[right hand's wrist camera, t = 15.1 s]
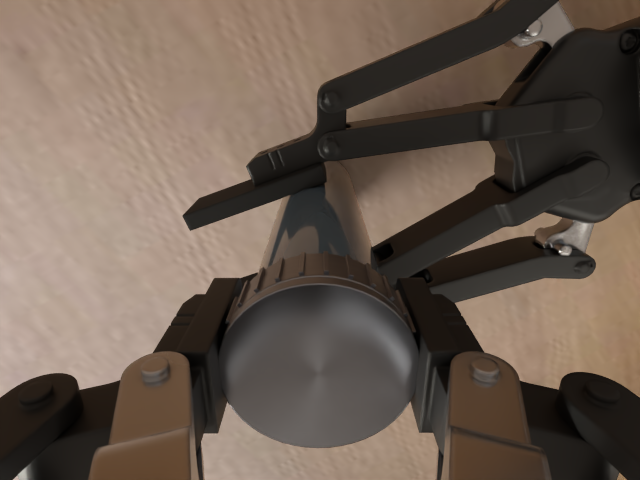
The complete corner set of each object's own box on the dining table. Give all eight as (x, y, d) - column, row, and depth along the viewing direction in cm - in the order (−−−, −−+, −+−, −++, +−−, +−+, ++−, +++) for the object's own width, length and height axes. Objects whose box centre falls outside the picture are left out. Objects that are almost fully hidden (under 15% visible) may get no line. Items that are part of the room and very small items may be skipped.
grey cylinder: (324, 231, 26) (329, 443, 11) (274, 192, 25) (203, 365, 10) (365, 184, 25) (437, 346, 10) (315, 142, 24) (305, 248, 9)
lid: (437, 360, 11) (456, 405, 10) (288, 425, 12) (283, 476, 10) (357, 216, 10) (365, 241, 8) (192, 302, 10) (170, 340, 9)
